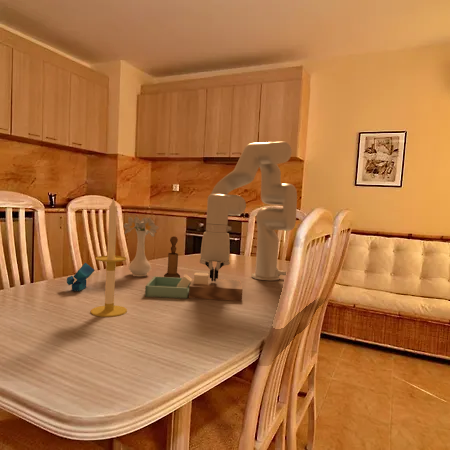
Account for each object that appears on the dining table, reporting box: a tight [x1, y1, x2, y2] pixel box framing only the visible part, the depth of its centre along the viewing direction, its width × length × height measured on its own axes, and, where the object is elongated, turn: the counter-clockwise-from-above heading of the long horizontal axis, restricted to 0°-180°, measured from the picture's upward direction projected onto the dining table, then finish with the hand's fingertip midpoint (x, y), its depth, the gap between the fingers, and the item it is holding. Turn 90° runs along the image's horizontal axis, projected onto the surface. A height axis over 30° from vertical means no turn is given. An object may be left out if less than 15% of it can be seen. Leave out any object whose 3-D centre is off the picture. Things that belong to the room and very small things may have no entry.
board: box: [188, 277, 244, 302], centre depth 131 cm, size 18×14×4 cm
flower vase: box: [123, 216, 160, 278], centre depth 155 cm, size 13×18×25 cm
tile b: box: [177, 273, 193, 288], centre depth 130 cm, size 5×5×3 cm
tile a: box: [193, 272, 210, 284], centre depth 130 cm, size 5×5×3 cm
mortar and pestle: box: [163, 236, 181, 278], centre depth 148 cm, size 7×6×18 cm
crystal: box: [66, 262, 95, 292], centre depth 127 cm, size 7×9×12 cm
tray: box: [144, 276, 191, 299], centre depth 130 cm, size 14×16×4 cm
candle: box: [90, 197, 128, 318], centre depth 103 cm, size 10×10×32 cm
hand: (213, 280), depth 130 cm, fingers closed
